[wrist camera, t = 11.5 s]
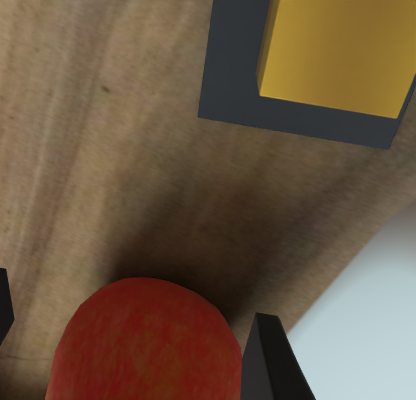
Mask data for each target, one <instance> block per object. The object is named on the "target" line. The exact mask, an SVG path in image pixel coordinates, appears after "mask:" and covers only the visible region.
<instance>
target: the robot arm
mask: <svg viewBox="0 0 416 400" xmlns="http://www.w3.org/2000/svg"><path fill="white" fill-rule="evenodd" d="M13 322H14V314H13V308H12V302H11V296H10V290H9V283H8V277H7V271H6V269H4V268H0V345H1V343H2V342H3V340H4V338H5V336H6V335H7V333H8V331H9V329H10V327H11V325H12V323H13ZM240 400H316V399H315V397H314V395H313V393H312V391H311V389H310V387H309V385H308V383H307V381H306V379H305V377H304V375H303V373H302V370H301V368H300V366H299V364H298V362H297V360H296V357H295V355H294V353H293V351H292V348H291V346H290V344H289V341H288V339H287V336H286V334H285V331H284V329H283V326H282V324H281V321H280V319H279V318H278V316H275V315H269V314H263V313H257V312H256V314H255V317H254V321H253V324H252V327H251V331H250V334H249V338H248V341H247V344H246V348H245V351H244V355H243V358H242V369H241V388H240Z"/></svg>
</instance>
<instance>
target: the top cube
mask: <svg viewBox="0 0 416 400" xmlns="http://www.w3.org/2000/svg"><path fill="white" fill-rule="evenodd" d="M415 74H416V0H270V3H269V8H268V13H267V18H266V23H265V28H264V33H263V38H262V43H261V48H260V53H259V58H258V63H257V68H256V78H257V83H258V89H259V94H260V96H265V97H271V98H276V99H282V100H288V101H294V102H300V103H306V104H312V105H318V106H324V107H330V108H336V109H342V110H348V111H353V112H359V113H365V114H371V115H377V116H383V117H389V118H397V117H398V115H399V113H400V110H401V108H402V105H403V103H404V100H405V98H406V96H407V93H408V91H409V88H410V86H411V83H412V81H413V78H414V76H415Z"/></svg>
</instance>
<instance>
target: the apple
mask: <svg viewBox="0 0 416 400" xmlns="http://www.w3.org/2000/svg"><path fill="white" fill-rule="evenodd" d="M241 369H242V354H241V347H240V345H239V344H238V342H237V340H236V338H235V336H234V335H233V333H232V331H231V329H230V327H229V325H228V324H227V322H226V320H225V318H224V317H223V315H222V314H221V313H220V311H219V310H218V308H217V307H215V306H214V305H213V304H211V303H210V302H209V301H207V300H206V299H204V298H203V297H202V296H200V295H199V294H198V293H196V292H194V291H192V290H189V289H187V288H184V287H182V286H180V285H177V284H175V283H172V282H170V281H166V280H161V279H155V278H149V277H135V278H124V279H122V280H119V281H117V282H114V283H112V284H109V285H107V286H104V287H102V288H100V289H99V290H98V291H96V292H95V293H94V294H93V295H92V296H91V297H89V298H88V299H87V300H86V301H85V302H83V303H82V304H81V305H80V306H79V308H78V309H77V311H76V312H75V314H74V315H73V317H72V318H71V320H70V321H69V323H68V324H67V326H66V329H65V331H64V333H63V335H62V338H61V340H60V342H59V344H58V346H57V349H56V351H55V355H54V360H53V365H52V369H51V374H50V379H49V384H48V389H47V393H46V398H45V400H240V388H241Z"/></svg>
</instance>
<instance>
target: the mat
mask: <svg viewBox="0 0 416 400" xmlns="http://www.w3.org/2000/svg"><path fill="white" fill-rule="evenodd" d="M269 3H270V0H213V7H212V14H211V22H210V29H209V37H208V44H207V52H206V59H205V67H204V74H203V82H202V89H201V97H200V104H199V112H198V117H199V118H204V119H210V120H216V121H222V122H228V123H234V124H240V125H246V126H252V127H257V128H263V129H269V130H275V131H281V132H287V133H293V134H299V135H305V136H311V137H316V138H322V139H328V140H334V141H340V142H346V143H352V144H358V145H364V146H369V147H375V148H381V149H387V150H388V149H389V148H390V146H391V143H392V141H393V138H394V136H395V134H396V131H397V129H398V126H399V124H400V122H401V119H402V117H403V114H404V112H405V109H406V107H407V105H408V102H409V100H410V97H411V95H412V93H413V90H414V88H415V85H416V74H415V76H414V78H413V81H412V83H411V86H410V88H409V91H408V93H407V96H406V98H405V100H404V103H403V105H402V108H401V110H400V113H399V115H398V117H397V118H389V117H383V116H377V115H371V114H365V113H359V112H353V111H348V110H342V109H336V108H330V107H324V106H318V105H312V104H306V103H300V102H294V101H288V100H282V99H276V98H271V97H265V96H260V94H259V89H258V83H257V78H256V68H257V63H258V58H259V53H260V48H261V43H262V38H263V33H264V28H265V23H266V18H267V13H268V8H269Z"/></svg>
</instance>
